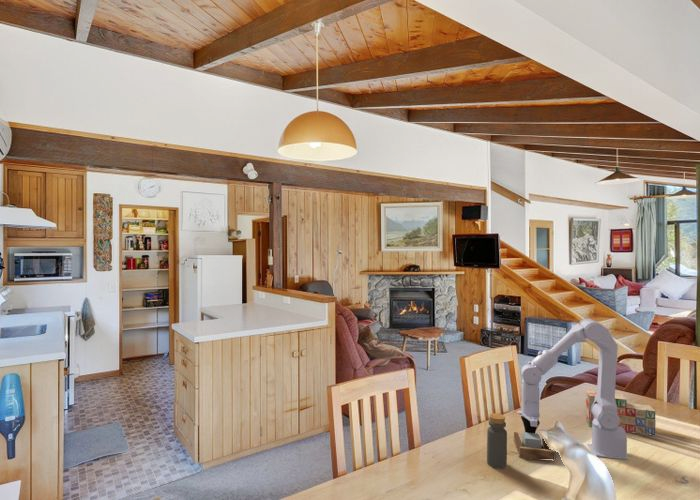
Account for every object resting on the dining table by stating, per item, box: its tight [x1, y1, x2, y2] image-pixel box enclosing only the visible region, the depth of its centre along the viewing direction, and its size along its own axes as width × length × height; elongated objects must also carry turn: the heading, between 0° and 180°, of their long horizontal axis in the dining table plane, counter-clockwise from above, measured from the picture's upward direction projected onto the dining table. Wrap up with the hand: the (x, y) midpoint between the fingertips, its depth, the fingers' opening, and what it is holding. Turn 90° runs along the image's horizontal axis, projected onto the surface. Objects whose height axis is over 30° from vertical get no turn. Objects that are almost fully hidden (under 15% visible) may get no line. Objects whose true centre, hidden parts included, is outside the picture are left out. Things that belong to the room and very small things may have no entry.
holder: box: [513, 431, 556, 460], centre depth 139 cm, size 10×12×3 cm
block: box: [522, 431, 542, 449], centre depth 141 cm, size 5×5×4 cm
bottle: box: [486, 412, 508, 470], centre depth 130 cm, size 6×6×15 cm
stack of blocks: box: [585, 390, 656, 436], centre depth 158 cm, size 21×6×12 cm, turn 68°
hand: (529, 439), depth 145 cm, fingers closed
